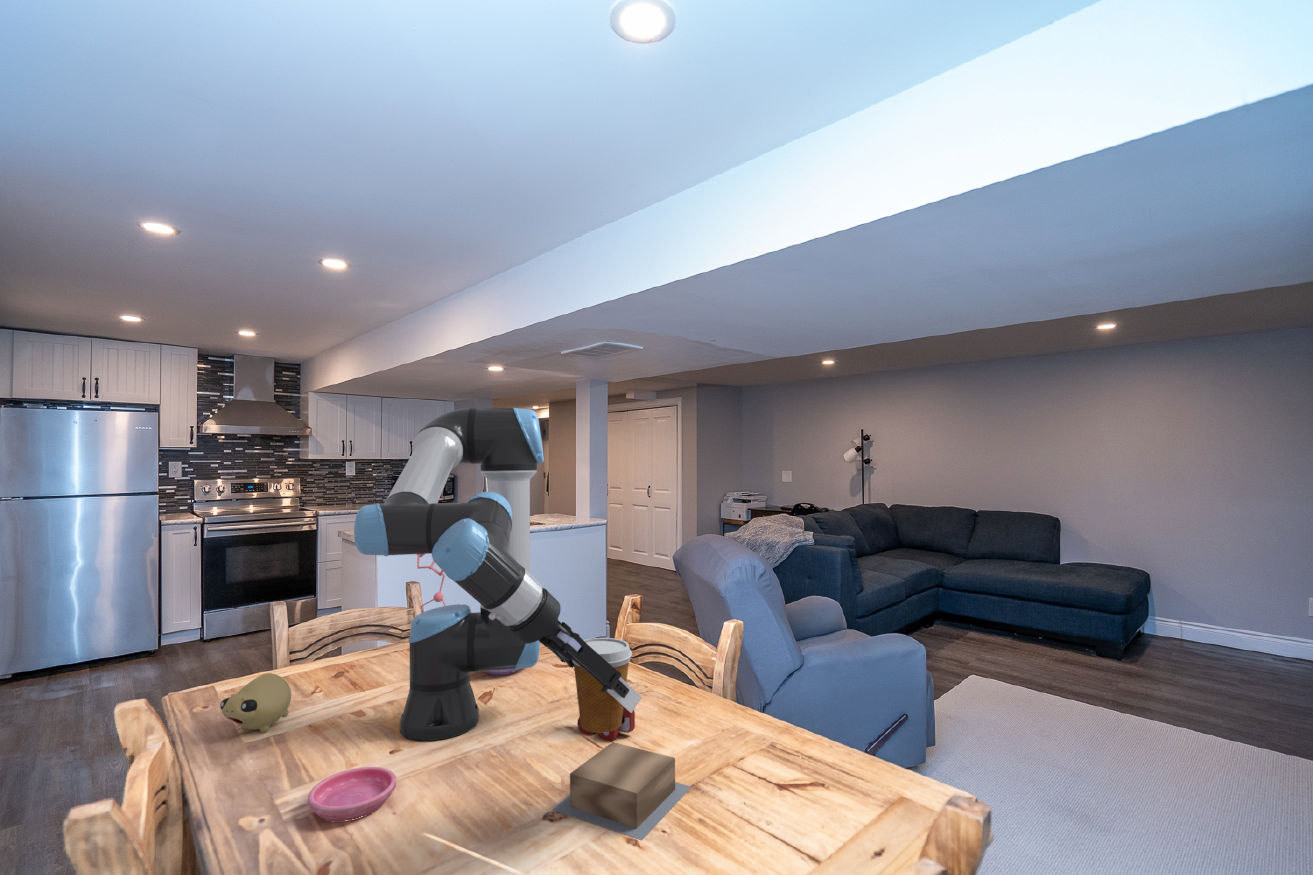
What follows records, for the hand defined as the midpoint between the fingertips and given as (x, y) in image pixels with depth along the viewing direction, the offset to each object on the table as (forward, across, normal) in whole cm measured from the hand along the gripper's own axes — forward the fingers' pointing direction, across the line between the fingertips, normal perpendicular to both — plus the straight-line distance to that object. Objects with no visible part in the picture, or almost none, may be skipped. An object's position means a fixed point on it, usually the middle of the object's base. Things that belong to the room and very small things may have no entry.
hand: (619, 694), depth 98 cm
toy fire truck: (+20, -23, -4) cm, 30 cm away
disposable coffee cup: (0, 0, -5) cm, 5 cm away
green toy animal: (-20, -66, -44) cm, 81 cm away
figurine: (+13, -98, -10) cm, 100 cm away
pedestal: (+12, 0, -11) cm, 16 cm away
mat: (+12, 0, -11) cm, 17 cm away
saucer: (-12, -24, -36) cm, 45 cm away
